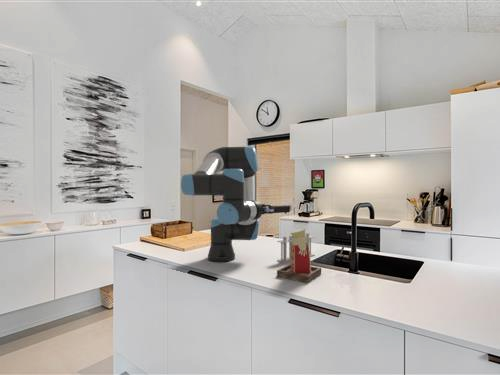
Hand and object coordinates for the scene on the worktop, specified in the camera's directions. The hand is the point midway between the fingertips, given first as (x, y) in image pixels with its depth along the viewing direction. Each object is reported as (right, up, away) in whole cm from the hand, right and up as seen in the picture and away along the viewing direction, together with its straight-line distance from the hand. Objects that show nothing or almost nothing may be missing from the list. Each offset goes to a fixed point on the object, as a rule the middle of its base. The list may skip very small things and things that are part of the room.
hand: (277, 206), depth 130 cm
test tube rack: (+14, -31, +34) cm, 49 cm away
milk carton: (+11, -31, +5) cm, 33 cm away
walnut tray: (+11, -32, +5) cm, 34 cm away
